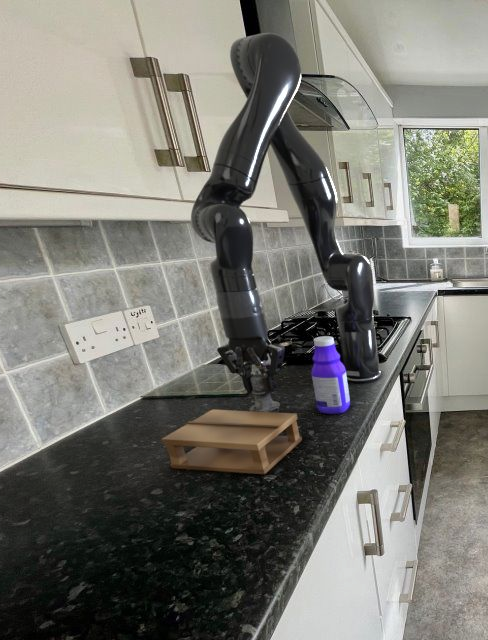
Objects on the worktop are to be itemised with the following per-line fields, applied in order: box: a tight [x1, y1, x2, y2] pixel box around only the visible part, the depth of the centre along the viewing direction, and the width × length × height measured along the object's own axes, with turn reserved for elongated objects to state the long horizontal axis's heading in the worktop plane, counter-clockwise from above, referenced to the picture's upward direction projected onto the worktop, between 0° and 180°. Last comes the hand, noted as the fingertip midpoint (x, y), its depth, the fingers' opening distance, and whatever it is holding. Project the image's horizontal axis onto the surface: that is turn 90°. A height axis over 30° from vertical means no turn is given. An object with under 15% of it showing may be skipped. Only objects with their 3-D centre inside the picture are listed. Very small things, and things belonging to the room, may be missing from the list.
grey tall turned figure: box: [249, 370, 281, 413], centre depth 88 cm, size 6×6×12 cm
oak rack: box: [160, 409, 303, 475], centre depth 77 cm, size 12×18×6 cm, turn 84°
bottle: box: [310, 335, 351, 415], centre depth 92 cm, size 7×6×17 cm
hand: (261, 391), depth 87 cm, fingers closed on grey tall turned figure, 3 cm apart
